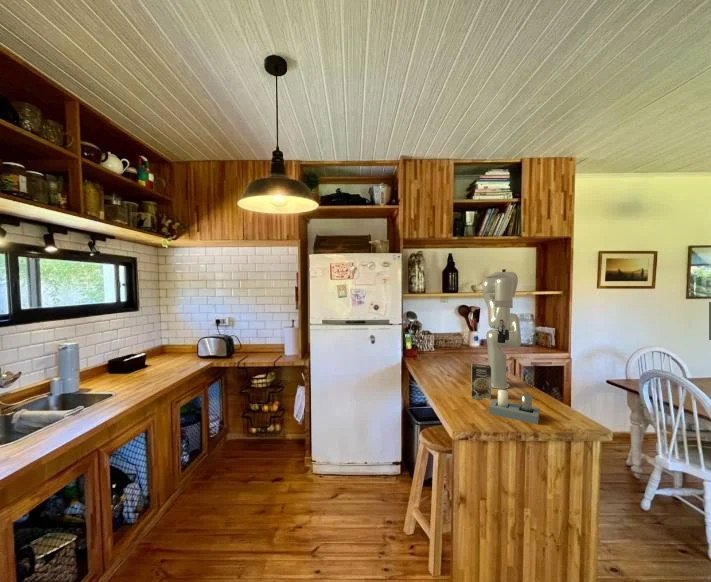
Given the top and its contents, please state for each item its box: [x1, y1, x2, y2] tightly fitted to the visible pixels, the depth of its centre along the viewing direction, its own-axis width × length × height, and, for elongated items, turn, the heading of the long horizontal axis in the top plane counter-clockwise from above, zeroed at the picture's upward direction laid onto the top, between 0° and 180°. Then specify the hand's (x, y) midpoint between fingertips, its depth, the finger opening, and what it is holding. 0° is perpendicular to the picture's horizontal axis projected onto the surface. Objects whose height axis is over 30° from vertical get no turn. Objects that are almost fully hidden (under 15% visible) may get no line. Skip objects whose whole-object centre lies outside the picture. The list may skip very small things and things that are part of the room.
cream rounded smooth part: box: [497, 389, 509, 408], centre depth 131 cm, size 4×4×9 cm
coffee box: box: [470, 363, 492, 400], centre depth 151 cm, size 9×6×16 cm
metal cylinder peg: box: [520, 393, 533, 413], centre depth 126 cm, size 4×4×9 cm
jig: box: [488, 398, 541, 425], centre depth 129 cm, size 11×18×4 cm, turn 55°
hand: (503, 341), depth 141 cm, fingers open, 9 cm apart
